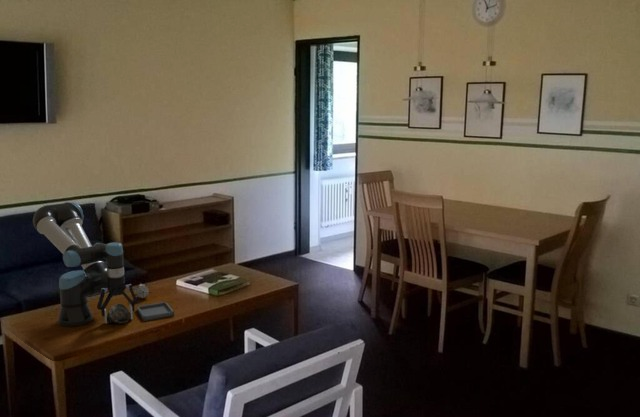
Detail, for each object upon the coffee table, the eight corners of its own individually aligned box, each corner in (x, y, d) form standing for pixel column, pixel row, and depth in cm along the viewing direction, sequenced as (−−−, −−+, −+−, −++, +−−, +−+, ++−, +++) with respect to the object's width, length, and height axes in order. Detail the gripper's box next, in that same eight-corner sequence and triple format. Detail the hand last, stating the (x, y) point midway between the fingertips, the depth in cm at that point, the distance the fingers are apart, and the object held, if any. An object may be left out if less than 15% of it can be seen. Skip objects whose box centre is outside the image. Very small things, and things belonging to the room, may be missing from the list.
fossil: (123, 325, 280) (112, 307, 279) (108, 332, 283) (97, 314, 282) (135, 316, 291) (124, 298, 290) (120, 323, 293) (110, 305, 292)
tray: (143, 321, 288) (143, 316, 288) (136, 310, 302) (136, 306, 301) (174, 315, 295) (174, 311, 294) (166, 305, 308) (166, 301, 308)
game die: (146, 304, 321) (157, 290, 319) (134, 303, 314) (145, 289, 312) (138, 293, 325) (149, 279, 323) (126, 291, 318) (137, 277, 316)
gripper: (90, 281, 274) (93, 327, 278) (143, 274, 285) (145, 318, 289) (88, 277, 281) (91, 321, 285) (139, 270, 292) (142, 313, 296)
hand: (118, 320), depth 287 cm, fingers closed on fossil, 11 cm apart
